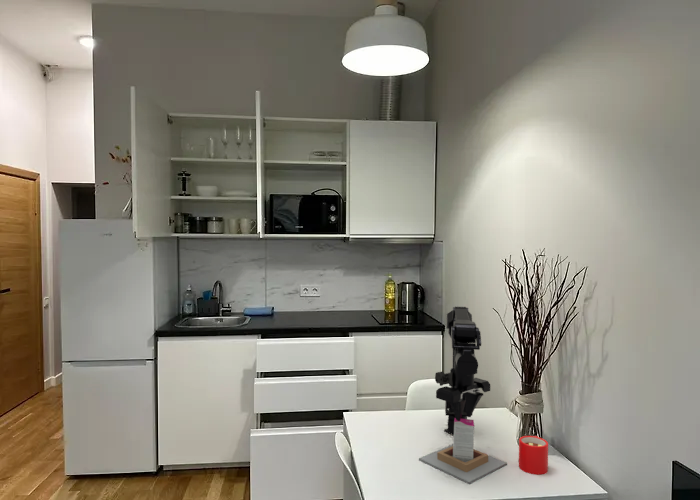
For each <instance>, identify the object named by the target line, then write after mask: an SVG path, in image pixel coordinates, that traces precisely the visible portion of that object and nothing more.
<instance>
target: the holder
mask: <svg viewBox="0 0 700 500" xmlns="http://www.w3.org/2000/svg"><path fill="white" fill-rule="evenodd" d="M418 461H419V462H422V463H424V464H426V465H428V466H431V467H432V468H435V470H436V469H437V470H439V471H441V472H443V473H444V474H447V475H449V476H451V477H453V478H456V479H458V480H460V481H462V482H464V483H466V484H467V485H471V484H473V483H474V482H477V481H478V480H481V479H482V478H484V477H486V476H487V475H490V474H491V473H493V472H495V471H498V470H500V469H501V468H504V467H505V466H507V465H508V463H507V462H506V461H504V460H502V459H499V458H496V457H494V456H493V455H489V454H487V453H485V452H482V451H479V450H477V449H475V448H473V459H472V460H470V461H468V462H463V461H461V460H459V459H456V458H454V457H453V444H450V445H447V446H445V447H442V448H440V449H438V450H435V451H433V452H430V453H429V454H426V455H423V456H421V457H419V458H418Z"/></svg>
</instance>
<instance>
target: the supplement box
mask: <svg viewBox="0 0 700 500" xmlns="http://www.w3.org/2000/svg"><path fill="white" fill-rule="evenodd" d="M474 422H475V421H474V419H471V418H470V419H468V418H467V419H460V421H457V420H456V418H455V419H454V435H453V442H452V443H453V457H454V458H456V459H459V460H461V461H463V462H468V461H470V460H472V459H473V449H475V448H474V445H475V444H474V443H475V442H474V441H475V423H474Z"/></svg>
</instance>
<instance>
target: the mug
mask: <svg viewBox="0 0 700 500" xmlns="http://www.w3.org/2000/svg"><path fill="white" fill-rule="evenodd" d="M548 465H549V442H548V441H547V440H546V439H544V438H542V437H539V436H538V435H523V436H521V437H519V440H518V468H519V469H520V470H521V472H524V473H526V474H530V475H533V476H534V475H538V476H540V475H546V474H547V473H548V471H549V466H548Z"/></svg>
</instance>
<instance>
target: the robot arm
mask: <svg viewBox="0 0 700 500" xmlns="http://www.w3.org/2000/svg"><path fill="white" fill-rule="evenodd" d="M445 325H446V326H445V327H446V328H445V329H447V333H448V335H449V337H450V339H451V348H452V368H450V372H445V373H444V371H437V372H435V375H434V376H435V377H434V380H435V383H436V384H439V386H441V387H440V388H439V387H438V388H437V390H435V392H436V393H435V394H436V395H435V398H436V399H439V400H441V401H444V413H445V416H447V417H448V418H447V428H446V429H444V431H443V432H446V433H448V434H450V435H452V436H454V419H455V418H456V420H457V421H460V419H468V418H472V416H473V413H474V411H475V409H476V407H477V405H478V403H479V402H480V400H481V398H482V397H483V396H484V393H487V392H491V383H490V382H489V380H486V379H481V378H478V377H475V375H476V374H478V369H479V362H478V359H477V357H476V355H475V354H476V353H475V350H478V351H479V350H480V348H481V347H482V337H481V335H482V334H481V330H480V328H479V327H477V324H476V322H475V321H473V315H472V313H471V312H470V310H469V307H466V306H453V307H452V310H451V311H449V312H447V314H446V320H445ZM443 385H446V386H443ZM447 385H448V386H447ZM480 389H481V390H482V392H481V391H480Z"/></svg>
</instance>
